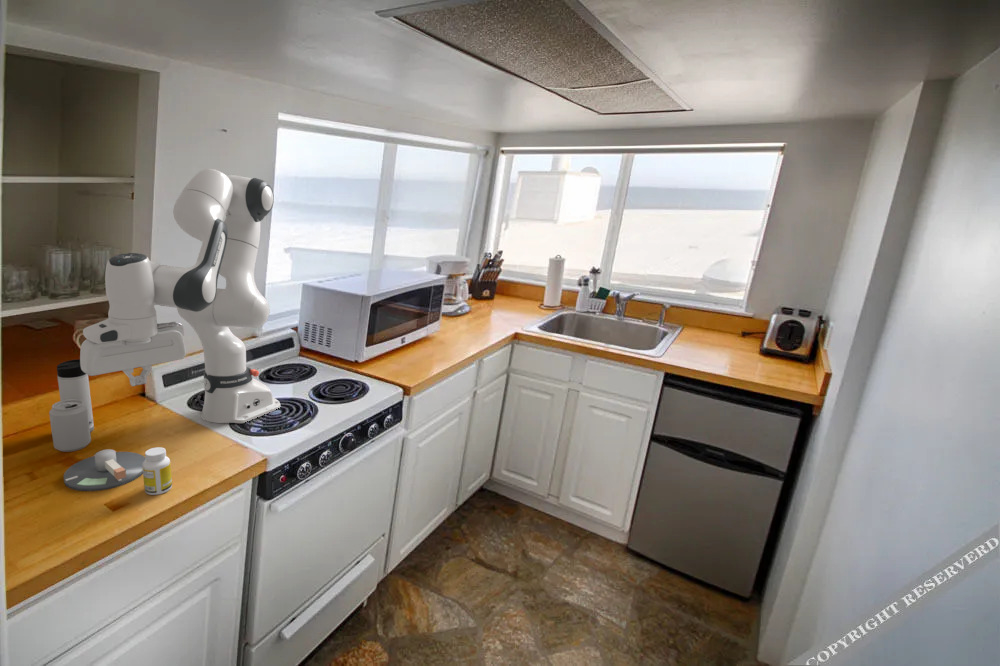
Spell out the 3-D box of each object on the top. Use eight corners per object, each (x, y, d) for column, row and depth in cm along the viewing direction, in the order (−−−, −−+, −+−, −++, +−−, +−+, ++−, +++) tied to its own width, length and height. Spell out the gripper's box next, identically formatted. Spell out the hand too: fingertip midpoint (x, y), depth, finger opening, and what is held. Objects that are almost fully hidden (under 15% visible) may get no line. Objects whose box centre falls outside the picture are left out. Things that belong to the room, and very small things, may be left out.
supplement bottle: (171, 480, 126) (169, 443, 123) (172, 492, 121) (169, 454, 119) (144, 485, 123) (141, 448, 120) (144, 497, 118) (140, 459, 116)
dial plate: (131, 449, 137) (130, 444, 137) (159, 472, 128) (158, 467, 128) (53, 472, 124) (53, 467, 124) (79, 499, 116) (78, 494, 115)
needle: (93, 466, 125) (91, 453, 124) (113, 461, 129) (111, 447, 128) (112, 484, 119) (110, 470, 118) (132, 478, 123) (130, 464, 122)
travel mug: (99, 430, 144) (92, 362, 139) (71, 438, 139) (62, 367, 134) (89, 423, 148) (81, 356, 142) (60, 431, 142) (51, 361, 137)
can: (70, 455, 131) (65, 411, 128) (46, 449, 133) (40, 406, 130) (98, 442, 139) (94, 400, 135) (75, 437, 140) (70, 395, 137)
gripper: (176, 317, 128) (180, 370, 132) (73, 330, 112) (80, 390, 115) (189, 323, 125) (192, 378, 128) (84, 337, 108) (91, 399, 112)
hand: (138, 384), depth 122 cm, fingers closed
